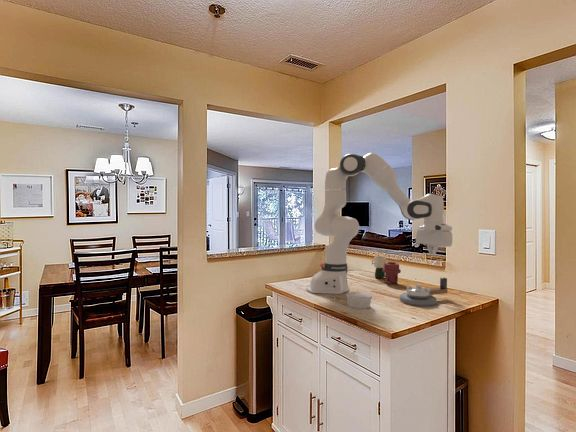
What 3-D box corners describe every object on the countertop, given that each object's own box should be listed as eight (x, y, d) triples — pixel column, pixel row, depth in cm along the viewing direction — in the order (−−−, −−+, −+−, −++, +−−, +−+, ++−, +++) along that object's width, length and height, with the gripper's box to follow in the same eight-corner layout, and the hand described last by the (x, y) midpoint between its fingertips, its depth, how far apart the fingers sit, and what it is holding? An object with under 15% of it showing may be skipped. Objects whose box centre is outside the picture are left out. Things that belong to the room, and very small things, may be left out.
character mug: (390, 278, 209) (390, 257, 209) (386, 280, 204) (386, 258, 203) (373, 275, 216) (373, 255, 215) (369, 277, 210) (369, 256, 210)
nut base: (409, 306, 149) (409, 301, 149) (394, 297, 165) (394, 292, 165) (443, 306, 151) (443, 301, 151) (425, 296, 167) (425, 292, 166)
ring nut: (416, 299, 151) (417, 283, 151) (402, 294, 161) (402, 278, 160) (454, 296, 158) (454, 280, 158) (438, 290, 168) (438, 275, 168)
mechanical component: (381, 281, 200) (398, 281, 199) (384, 285, 190) (402, 285, 189) (381, 260, 200) (398, 260, 199) (384, 263, 190) (402, 263, 189)
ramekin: (353, 301, 157) (353, 290, 157) (376, 306, 150) (376, 294, 150) (341, 306, 149) (341, 294, 149) (364, 312, 142) (364, 299, 141)
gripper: (413, 225, 176) (412, 251, 176) (445, 227, 158) (444, 256, 158) (422, 225, 179) (421, 251, 179) (455, 227, 160) (454, 256, 160)
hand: (432, 254), depth 168 cm, fingers closed
